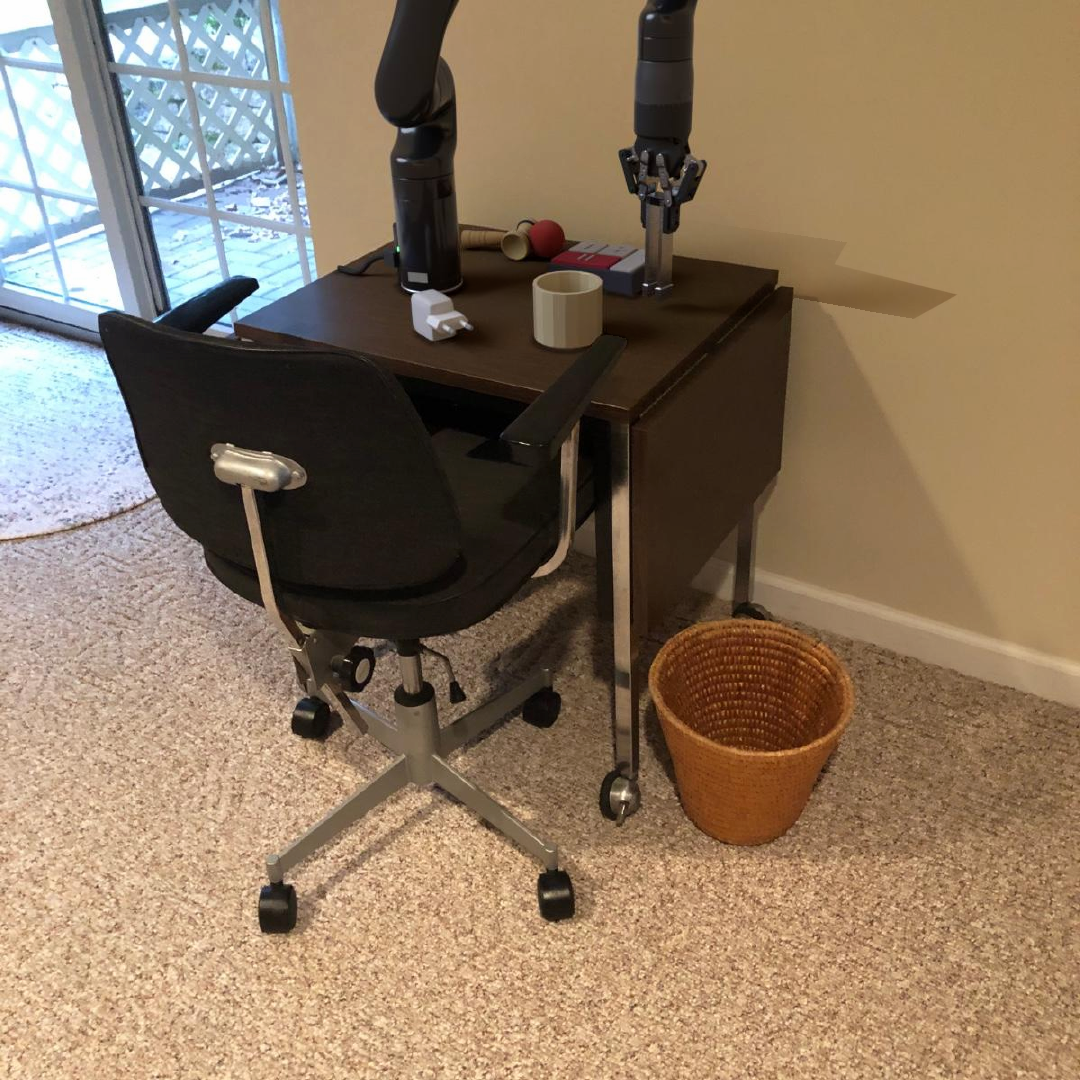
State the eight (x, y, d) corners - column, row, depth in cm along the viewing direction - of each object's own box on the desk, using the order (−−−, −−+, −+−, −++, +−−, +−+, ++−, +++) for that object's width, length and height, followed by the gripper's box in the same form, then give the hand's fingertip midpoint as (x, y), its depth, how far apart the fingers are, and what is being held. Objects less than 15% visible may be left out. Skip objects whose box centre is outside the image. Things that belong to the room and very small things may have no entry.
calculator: (581, 238, 171) (666, 247, 164) (583, 265, 173) (666, 275, 166) (545, 258, 163) (632, 268, 156) (547, 286, 165) (633, 297, 158)
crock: (520, 340, 146) (518, 283, 142) (567, 320, 152) (567, 265, 147) (569, 358, 141) (568, 299, 136) (616, 337, 146) (617, 280, 142)
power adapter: (480, 350, 144) (478, 308, 140) (449, 359, 141) (446, 317, 138) (439, 325, 151) (436, 285, 148) (409, 333, 149) (405, 293, 146)
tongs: (641, 296, 152) (644, 194, 144) (654, 291, 153) (657, 190, 146) (660, 302, 150) (663, 199, 142) (673, 296, 151) (677, 194, 144)
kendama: (455, 264, 177) (555, 260, 170) (451, 224, 175) (551, 219, 168) (476, 258, 184) (573, 254, 176) (472, 220, 182) (570, 214, 174)
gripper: (726, 97, 135) (717, 233, 144) (641, 85, 143) (638, 214, 153) (688, 107, 131) (682, 247, 140) (603, 94, 139) (602, 226, 149)
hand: (659, 229), depth 146 cm, fingers closed on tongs, 3 cm apart
